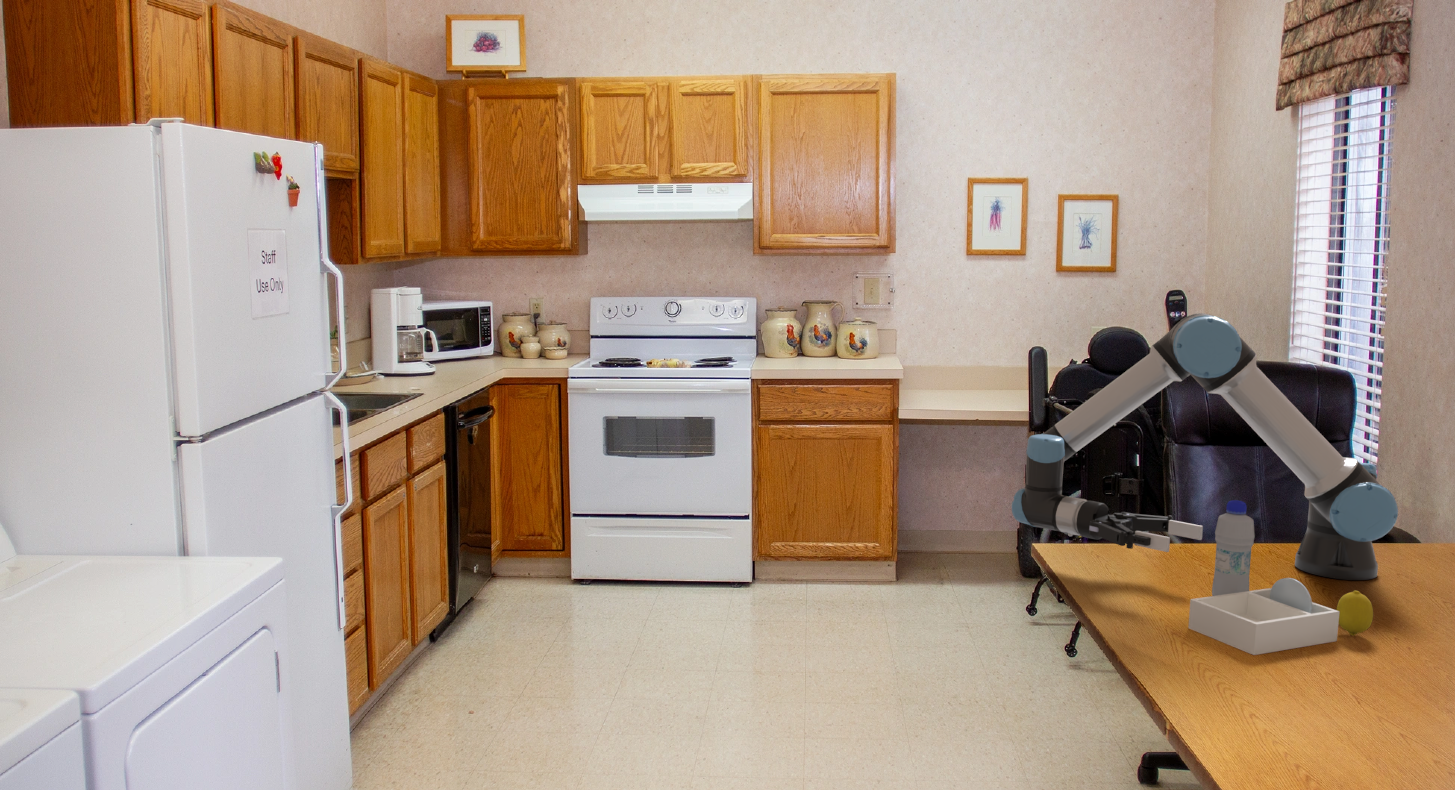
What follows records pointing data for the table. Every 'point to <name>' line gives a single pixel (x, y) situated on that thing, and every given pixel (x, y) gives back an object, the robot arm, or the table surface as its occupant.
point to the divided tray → (1265, 618)
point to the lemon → (1355, 612)
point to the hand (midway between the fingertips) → (1185, 538)
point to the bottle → (1233, 550)
